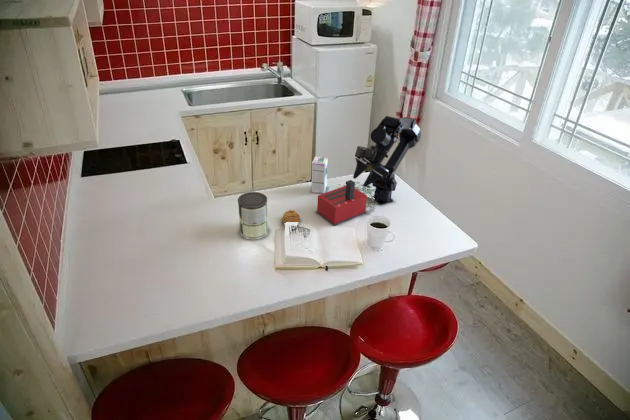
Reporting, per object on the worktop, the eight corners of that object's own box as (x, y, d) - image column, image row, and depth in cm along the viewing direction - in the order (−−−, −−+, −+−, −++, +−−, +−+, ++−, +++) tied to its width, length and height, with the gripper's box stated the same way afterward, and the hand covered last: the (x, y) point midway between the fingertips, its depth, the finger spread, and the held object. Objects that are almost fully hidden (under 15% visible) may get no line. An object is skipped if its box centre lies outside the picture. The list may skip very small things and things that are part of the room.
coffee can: (234, 231, 162) (231, 198, 154) (256, 220, 168) (255, 188, 161) (251, 243, 156) (249, 210, 148) (273, 232, 162) (273, 199, 155)
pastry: (301, 230, 163) (301, 222, 161) (283, 231, 163) (283, 223, 161) (299, 217, 171) (299, 208, 169) (281, 218, 171) (281, 209, 168)
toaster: (347, 200, 183) (349, 183, 179) (366, 213, 176) (368, 195, 171) (316, 212, 175) (317, 195, 170) (334, 225, 167) (335, 207, 163)
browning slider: (349, 195, 170) (350, 179, 167) (353, 198, 168) (355, 182, 165) (344, 197, 169) (345, 181, 165) (348, 200, 167) (350, 184, 163)
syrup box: (324, 193, 187) (325, 163, 180) (310, 192, 188) (311, 161, 180) (326, 187, 192) (328, 157, 184) (313, 185, 193) (314, 155, 185)
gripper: (356, 131, 172) (334, 165, 174) (378, 145, 156) (353, 181, 158) (376, 145, 177) (354, 177, 180) (399, 159, 161) (375, 194, 164)
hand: (358, 182), depth 170 cm, fingers open, 9 cm apart
